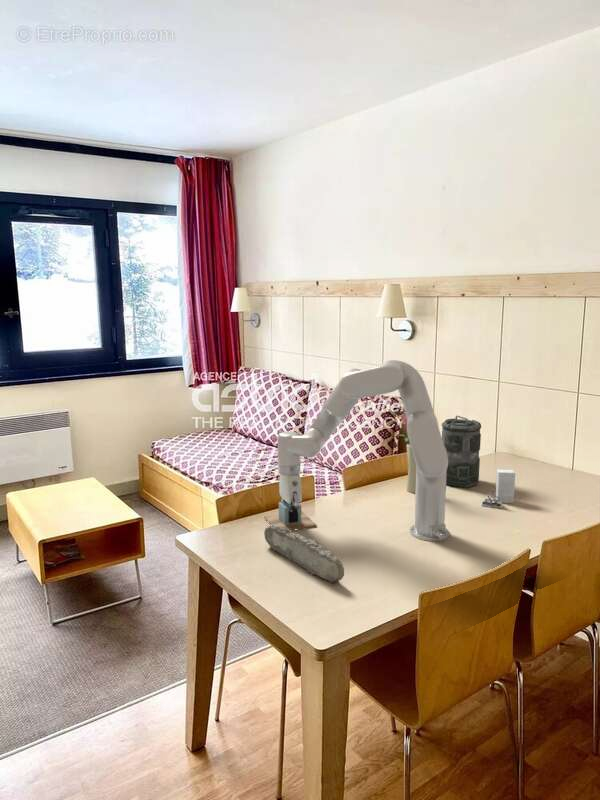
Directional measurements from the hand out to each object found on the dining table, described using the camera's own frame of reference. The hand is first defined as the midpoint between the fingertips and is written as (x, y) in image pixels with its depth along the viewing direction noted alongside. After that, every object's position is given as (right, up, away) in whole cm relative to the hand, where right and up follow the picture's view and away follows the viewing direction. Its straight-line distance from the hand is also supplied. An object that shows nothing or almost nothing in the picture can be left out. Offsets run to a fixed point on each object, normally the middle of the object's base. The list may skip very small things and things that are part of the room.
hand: (289, 518), depth 200 cm
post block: (0, -2, 0) cm, 2 cm away
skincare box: (+81, +2, +21) cm, 84 cm away
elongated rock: (+4, -8, -30) cm, 32 cm away
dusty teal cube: (0, -1, 0) cm, 1 cm away
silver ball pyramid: (+76, +1, +17) cm, 78 cm away
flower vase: (+46, +4, +31) cm, 56 cm away
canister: (+70, +6, +43) cm, 82 cm away
